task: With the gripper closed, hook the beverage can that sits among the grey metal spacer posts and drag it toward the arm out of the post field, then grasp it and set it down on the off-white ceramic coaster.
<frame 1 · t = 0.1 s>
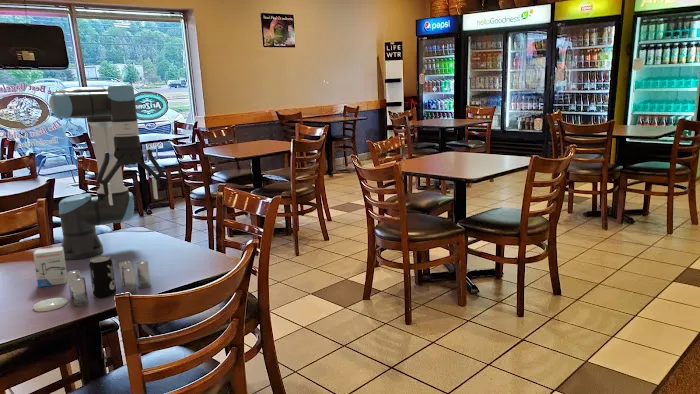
hand: (134, 201, 166), 28 cm above the table, fingers open, 13 cm apart
beverage can: (105, 295, 163), on the table
coaster: (50, 305, 156), on the table
ink box: (53, 283, 174), on the table
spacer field: (104, 294, 163), on the table
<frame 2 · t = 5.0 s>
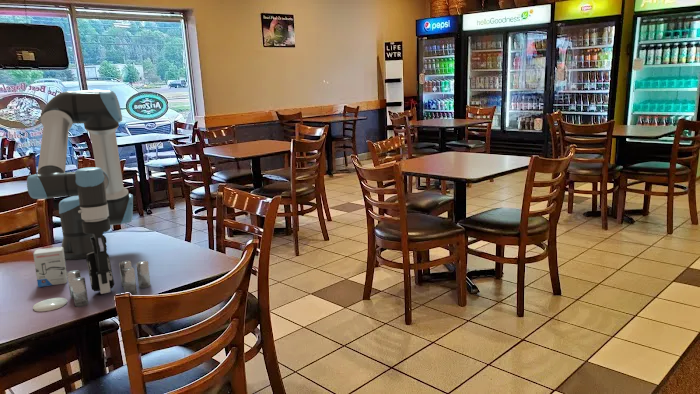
hand: (105, 292, 161), 2 cm above the table, fingers closed
beverage can: (103, 289, 164), point 1 cm above the table, touching gripper
everything else where it was.
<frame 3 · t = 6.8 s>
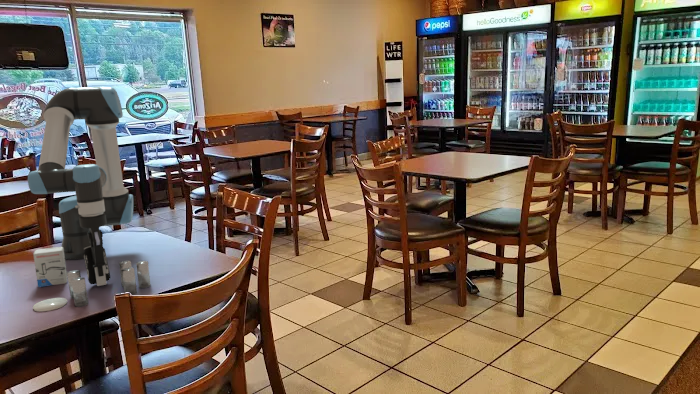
hand: (101, 284, 167), 2 cm above the table, fingers closed
beverage can: (100, 282, 170), point 1 cm above the table, touching gripper
everything else where it was.
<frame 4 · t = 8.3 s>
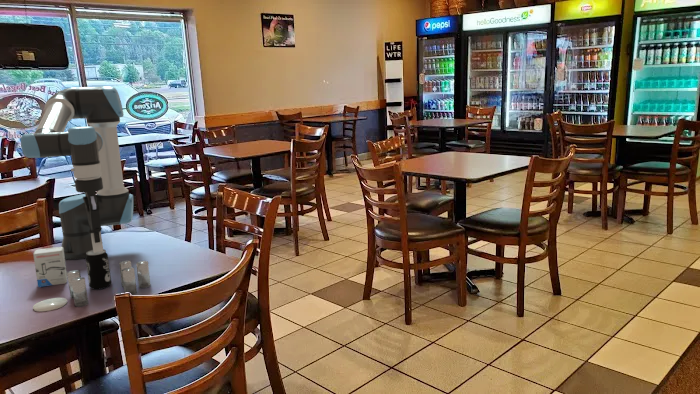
hand: (98, 251, 162), 14 cm above the table, fingers closed
beverage can: (100, 287, 170), on the table
everything else where it was.
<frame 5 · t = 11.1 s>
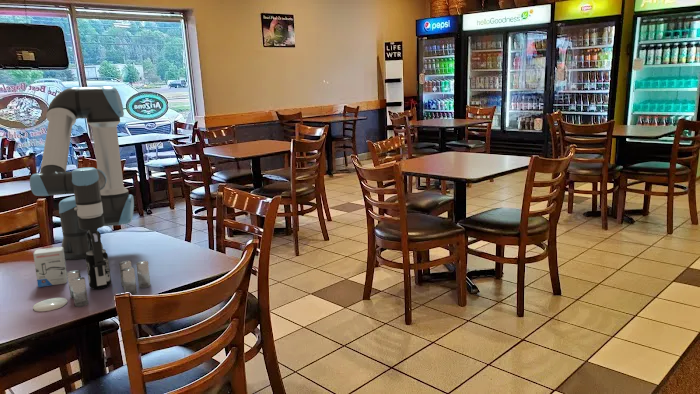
hand: (99, 279, 172), 2 cm above the table, fingers open, 11 cm apart
beverage can: (100, 286, 170), on the table, touching gripper
everything else where it was.
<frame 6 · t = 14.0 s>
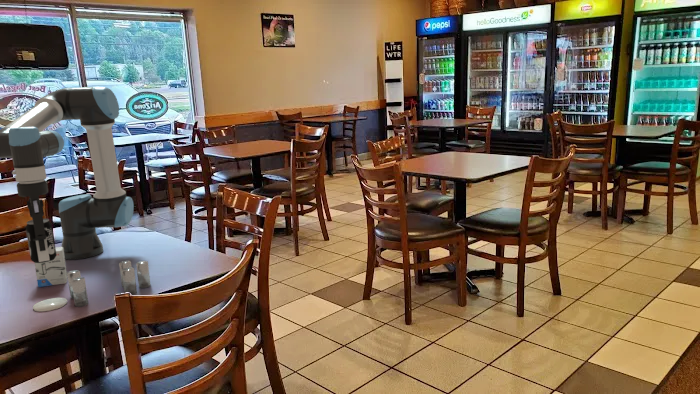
hand: (43, 257, 153), 15 cm above the table, fingers closed on beverage can, 6 cm apart
beverage can: (44, 260, 153), point 14 cm above the table, touching gripper
everything else where it was.
when the fingers open (2 cm above the table, at t = 16.7 s): beverage can drops 1 cm, resting on coaster.
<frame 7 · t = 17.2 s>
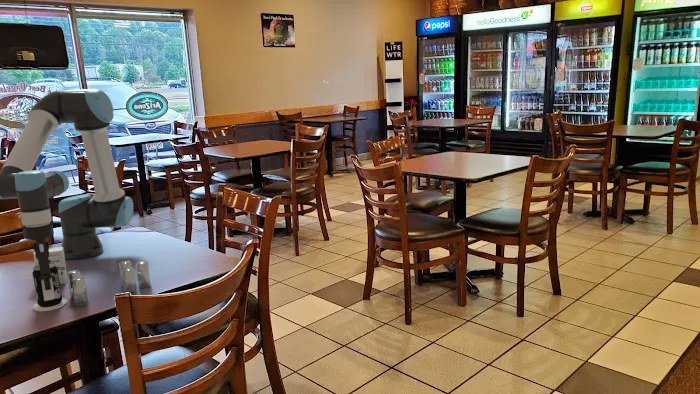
hand: (48, 292, 155), 4 cm above the table, fingers open, 13 cm apart
beverage can: (50, 304, 156), resting on coaster
everything else where it was.
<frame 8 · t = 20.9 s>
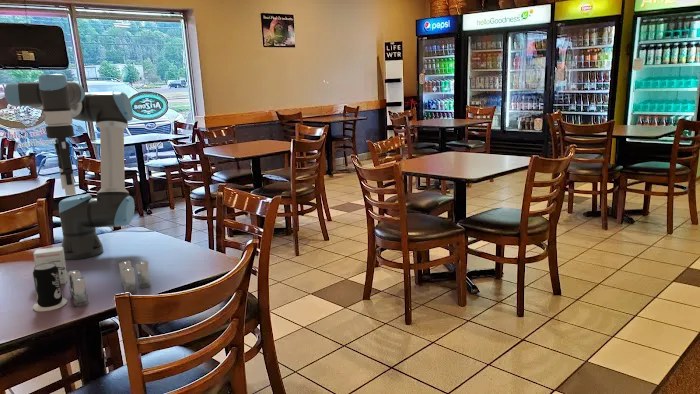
hand: (68, 191, 165), 32 cm above the table, fingers open, 13 cm apart
nothing on the table moved.
at the end: beverage can 0.1 cm from the coaster (horizontally); beverage can tilted 0°; the gripper is holding nothing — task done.
